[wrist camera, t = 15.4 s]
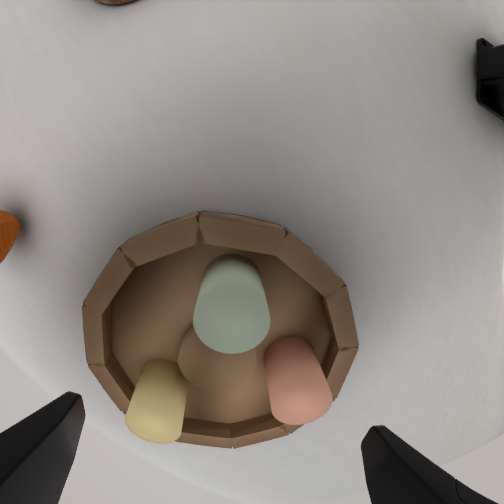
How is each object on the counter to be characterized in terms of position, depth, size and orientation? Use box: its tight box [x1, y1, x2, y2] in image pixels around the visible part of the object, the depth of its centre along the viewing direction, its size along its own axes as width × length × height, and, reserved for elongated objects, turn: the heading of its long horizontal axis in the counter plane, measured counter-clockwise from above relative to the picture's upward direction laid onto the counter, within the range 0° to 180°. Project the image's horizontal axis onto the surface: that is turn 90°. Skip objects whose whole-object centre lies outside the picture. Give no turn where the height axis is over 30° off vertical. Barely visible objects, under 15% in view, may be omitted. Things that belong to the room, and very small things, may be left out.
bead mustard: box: [125, 359, 189, 444], centre depth 19 cm, size 4×4×5 cm
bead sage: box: [193, 254, 270, 354], centre depth 17 cm, size 4×4×5 cm
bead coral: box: [263, 335, 333, 425], centre depth 19 cm, size 4×4×5 cm
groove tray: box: [82, 211, 359, 448], centre depth 20 cm, size 18×18×2 cm
